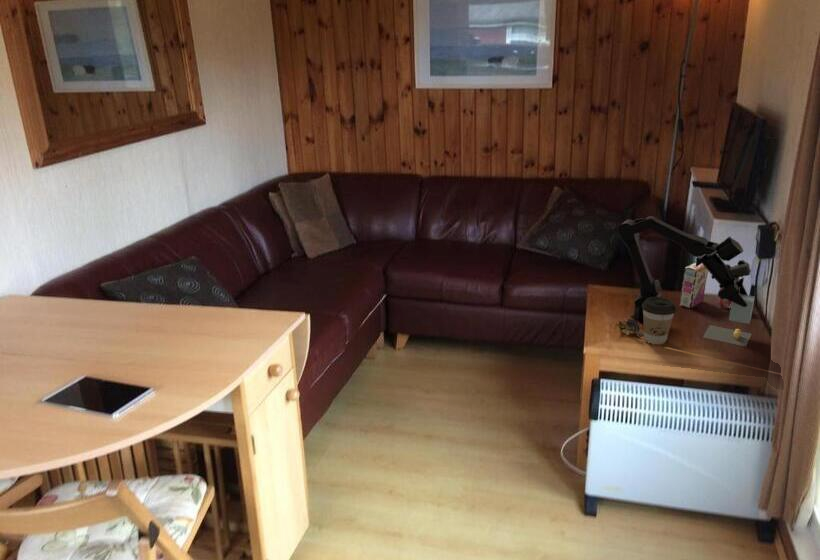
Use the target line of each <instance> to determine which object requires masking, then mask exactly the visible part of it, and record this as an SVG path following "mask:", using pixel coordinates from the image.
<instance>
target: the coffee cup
mask: <svg viewBox="0 0 820 560" xmlns="http://www.w3.org/2000/svg"><path fill="white" fill-rule="evenodd" d="M642 309H643V321H644V323H643V336H644V338H643V339H644V341H645V340H646V341H647V342H649V343H648V344H650V343H653V344H662V345H664V344H665V343H666V342H667V339H668V336H669V332H670V329H671V325H672V321H673V319H674V314H675V313H676V312H677V306H676V305H675V303H674V301H673V300H672V299H670V298H667V297H662V296H659V297H649V298H647V299H646V300H645V302H643V303H642ZM646 341H645V342H646ZM647 342H646V343H647ZM653 344H652V345H653Z"/></svg>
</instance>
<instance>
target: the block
mask: <svg viewBox="0 0 820 560" xmlns="http://www.w3.org/2000/svg"><path fill="white" fill-rule="evenodd" d="M741 296H742V298H743V299H744V301H745V302H746V304H747V306H746V307H743V306H740V305H738V304H736V303H734V302H732V303H731V309H729V310H730V311H729V314H728V315H729V317H728V320H729V321H732V322H736V323H744V324H748V325H750V322H751V318H752V316H753V315H752V314H753V309H754V305H755V296H754V295H749V294H748V295H744V294H741Z"/></svg>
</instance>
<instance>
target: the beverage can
mask: <svg viewBox="0 0 820 560" xmlns="http://www.w3.org/2000/svg"><path fill="white" fill-rule="evenodd" d="M731 303H732V301H730V300H727V299H722V300H721V299H720V298H719V302H718V305H719V306H720V307H721V308H723V309H726V308H729V310H730V308H731Z"/></svg>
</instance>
